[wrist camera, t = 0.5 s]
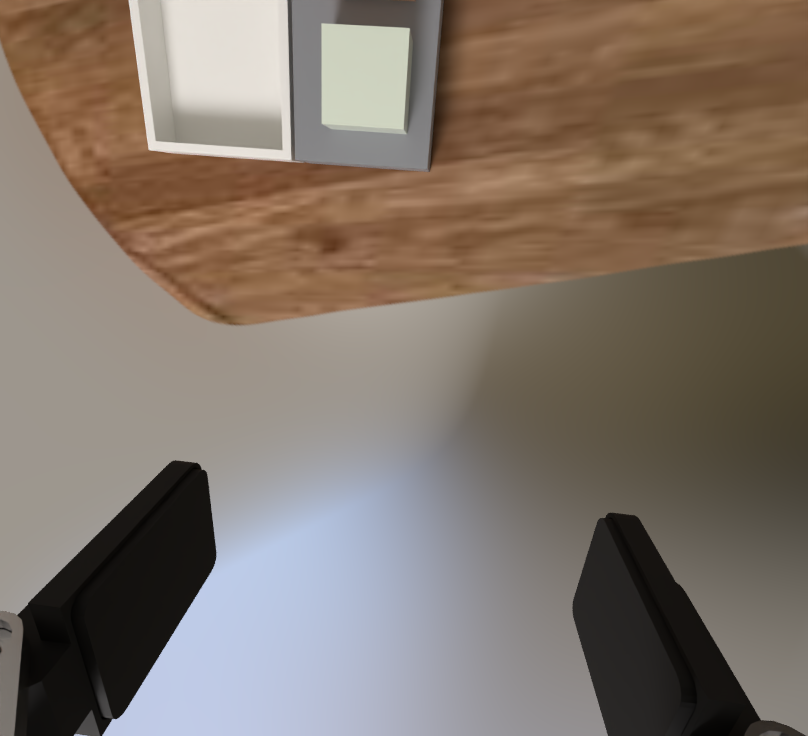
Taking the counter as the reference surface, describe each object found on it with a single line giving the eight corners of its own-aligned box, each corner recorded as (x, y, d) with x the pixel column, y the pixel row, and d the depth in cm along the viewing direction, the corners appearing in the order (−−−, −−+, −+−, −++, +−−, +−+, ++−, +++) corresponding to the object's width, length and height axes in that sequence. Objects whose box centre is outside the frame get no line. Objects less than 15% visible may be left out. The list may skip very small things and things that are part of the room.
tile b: (332, 37, 27) (321, 23, 25) (413, 42, 27) (409, 27, 25) (331, 129, 29) (321, 123, 27) (407, 134, 29) (403, 129, 26)
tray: (140, -124, 28) (107, -158, 25) (299, -118, 28) (283, -153, 25) (172, 153, 34) (148, 150, 32) (304, 162, 34) (291, 160, 31)
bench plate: (309, -118, 28) (288, -166, 24) (453, -113, 27) (454, -161, 23) (311, 163, 34) (295, 159, 30) (429, 171, 33) (427, 169, 29)
